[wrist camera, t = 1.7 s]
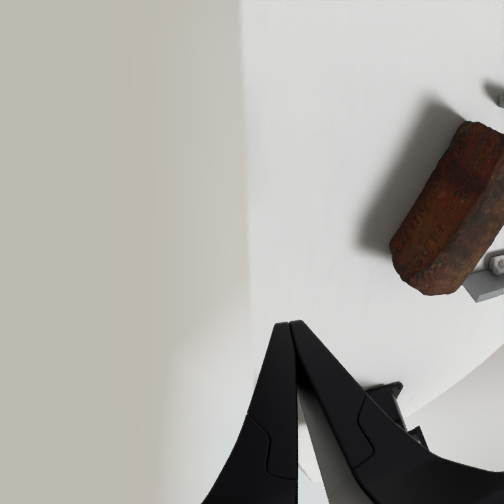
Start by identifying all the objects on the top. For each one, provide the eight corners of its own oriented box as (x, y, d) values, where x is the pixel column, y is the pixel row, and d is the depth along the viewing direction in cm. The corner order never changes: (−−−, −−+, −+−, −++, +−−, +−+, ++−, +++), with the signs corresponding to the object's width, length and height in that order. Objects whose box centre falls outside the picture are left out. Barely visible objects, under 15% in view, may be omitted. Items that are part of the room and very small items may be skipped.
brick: (458, 113, 14) (510, 134, 10) (490, 144, 15) (537, 171, 11) (380, 249, 19) (410, 295, 15) (417, 265, 20) (447, 308, 16)
